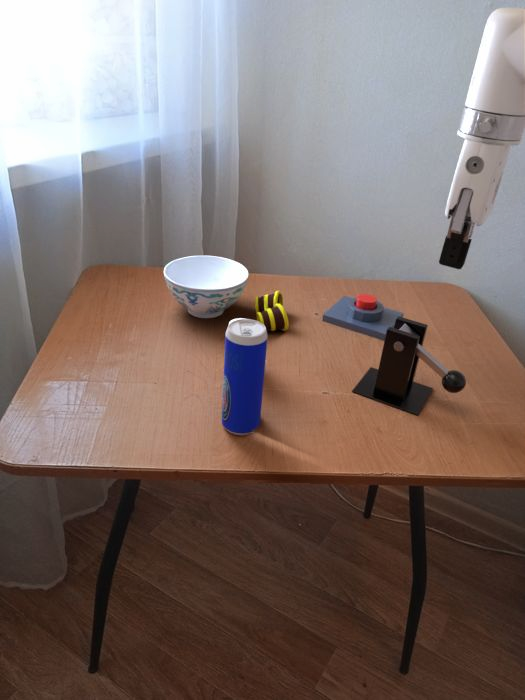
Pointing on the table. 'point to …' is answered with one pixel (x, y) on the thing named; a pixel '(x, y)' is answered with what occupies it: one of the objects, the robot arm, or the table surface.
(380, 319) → the switch box
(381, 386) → the switch bracket
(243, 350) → the beverage can
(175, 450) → the table surface
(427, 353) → the switch lever
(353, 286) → the table surface
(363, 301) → the button
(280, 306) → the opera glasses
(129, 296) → the table surface
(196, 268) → the chinaware
